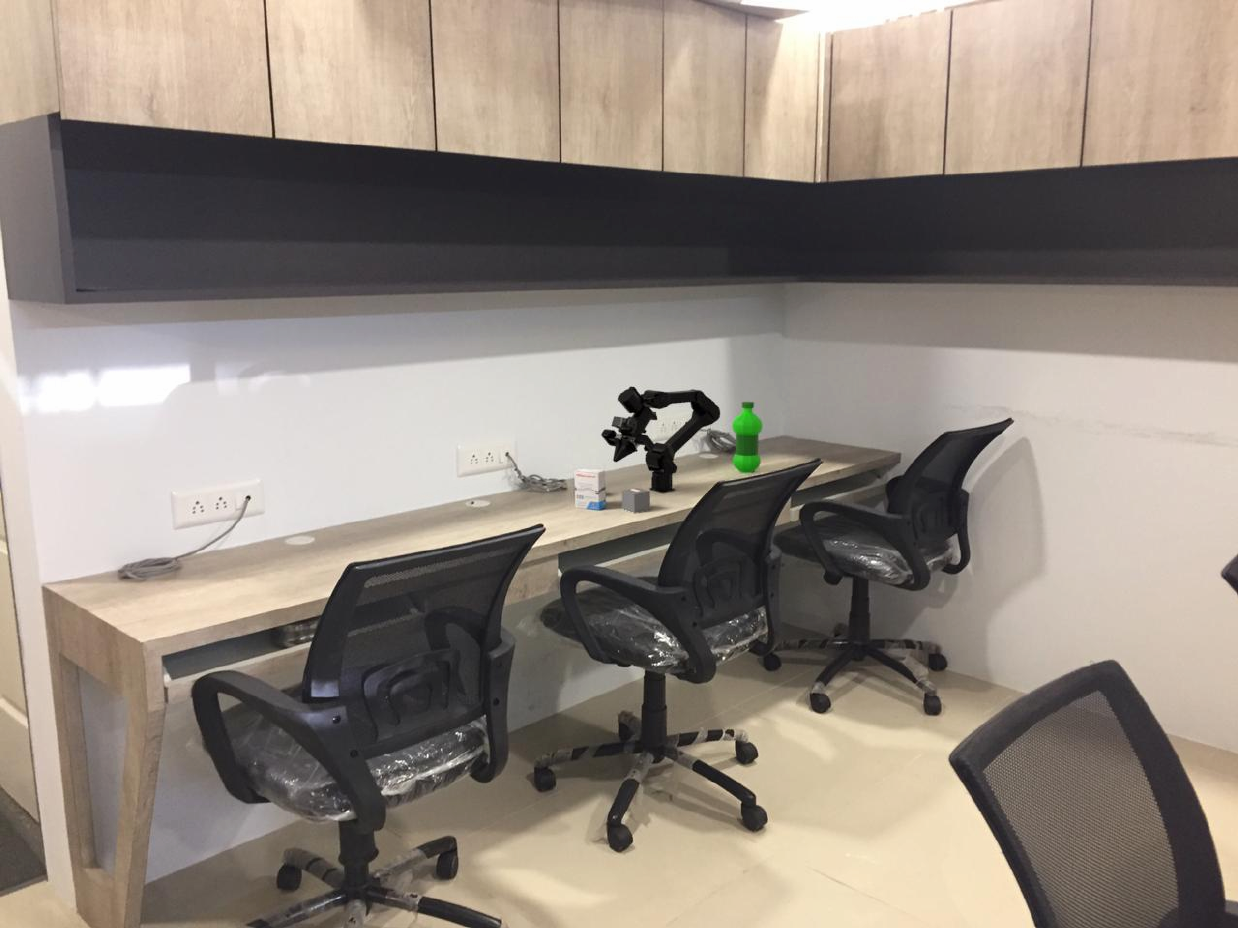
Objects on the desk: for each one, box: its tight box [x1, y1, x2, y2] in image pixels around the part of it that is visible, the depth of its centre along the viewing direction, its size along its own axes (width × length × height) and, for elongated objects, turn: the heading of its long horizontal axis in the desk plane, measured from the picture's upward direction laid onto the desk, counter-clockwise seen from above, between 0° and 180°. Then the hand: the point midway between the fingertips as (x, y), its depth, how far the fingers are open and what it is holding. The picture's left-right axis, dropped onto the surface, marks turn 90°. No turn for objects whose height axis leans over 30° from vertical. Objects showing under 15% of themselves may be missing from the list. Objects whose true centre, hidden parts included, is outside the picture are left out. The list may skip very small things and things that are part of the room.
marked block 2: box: [621, 487, 651, 514], centre depth 298 cm, size 6×6×6 cm
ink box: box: [573, 468, 607, 511], centre depth 301 cm, size 9×5×12 cm, turn 62°
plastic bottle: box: [732, 401, 763, 474], centre depth 354 cm, size 10×10×25 cm
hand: (614, 461), depth 309 cm, fingers closed
